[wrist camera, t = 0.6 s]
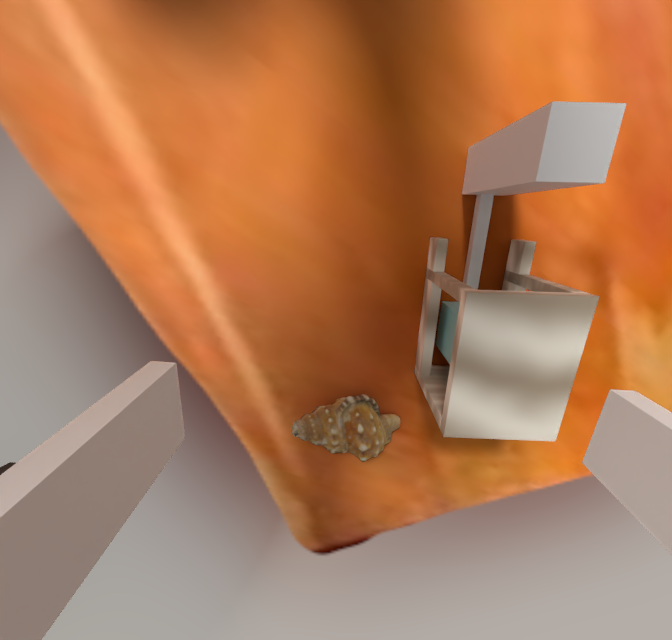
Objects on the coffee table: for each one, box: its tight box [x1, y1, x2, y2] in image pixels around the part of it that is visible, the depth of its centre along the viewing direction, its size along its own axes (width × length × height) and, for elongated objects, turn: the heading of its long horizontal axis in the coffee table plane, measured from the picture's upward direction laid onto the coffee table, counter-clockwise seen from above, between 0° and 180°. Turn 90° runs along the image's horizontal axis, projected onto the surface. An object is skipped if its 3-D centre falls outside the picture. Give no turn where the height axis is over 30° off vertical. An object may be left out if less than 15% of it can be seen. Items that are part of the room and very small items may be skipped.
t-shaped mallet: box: [436, 102, 626, 364], centre depth 26 cm, size 20×5×12 cm, turn 178°
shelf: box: [414, 237, 599, 441], centre depth 28 cm, size 15×9×11 cm, turn 178°
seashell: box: [292, 394, 400, 462], centre depth 35 cm, size 9×8×10 cm
